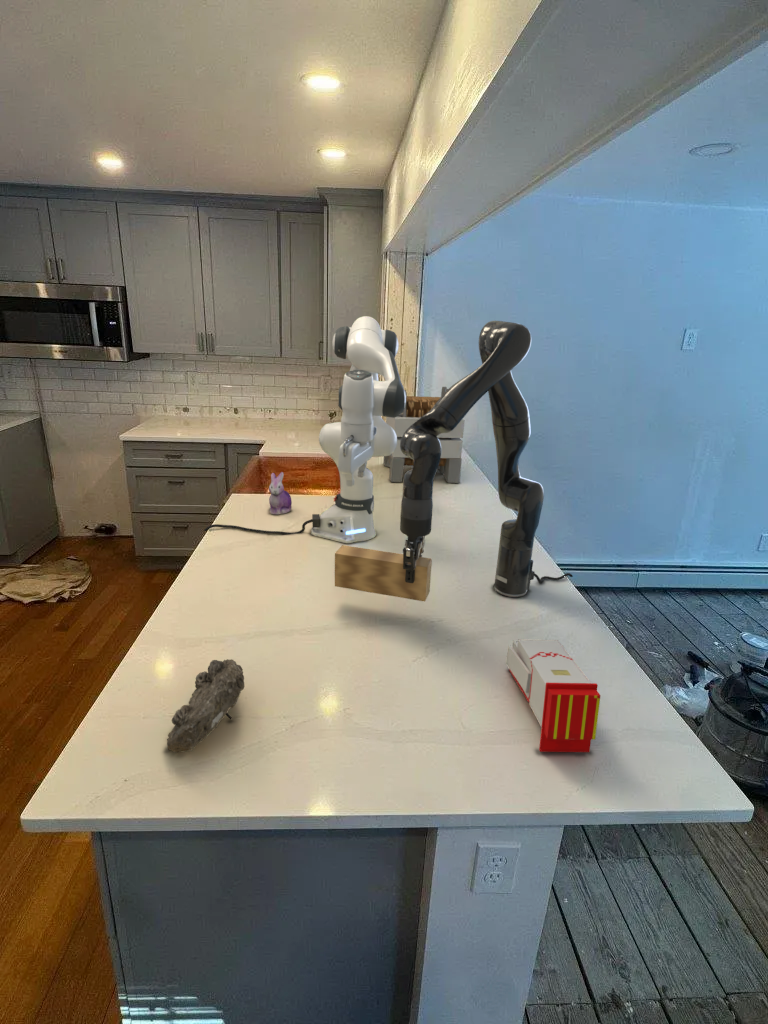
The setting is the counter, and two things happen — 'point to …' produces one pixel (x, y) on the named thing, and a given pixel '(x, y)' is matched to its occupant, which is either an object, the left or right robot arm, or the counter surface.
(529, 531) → the right robot arm
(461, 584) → the counter surface
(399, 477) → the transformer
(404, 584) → the bar
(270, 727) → the counter surface
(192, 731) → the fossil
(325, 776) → the counter surface
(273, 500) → the figurine
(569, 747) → the toy
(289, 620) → the counter surface
